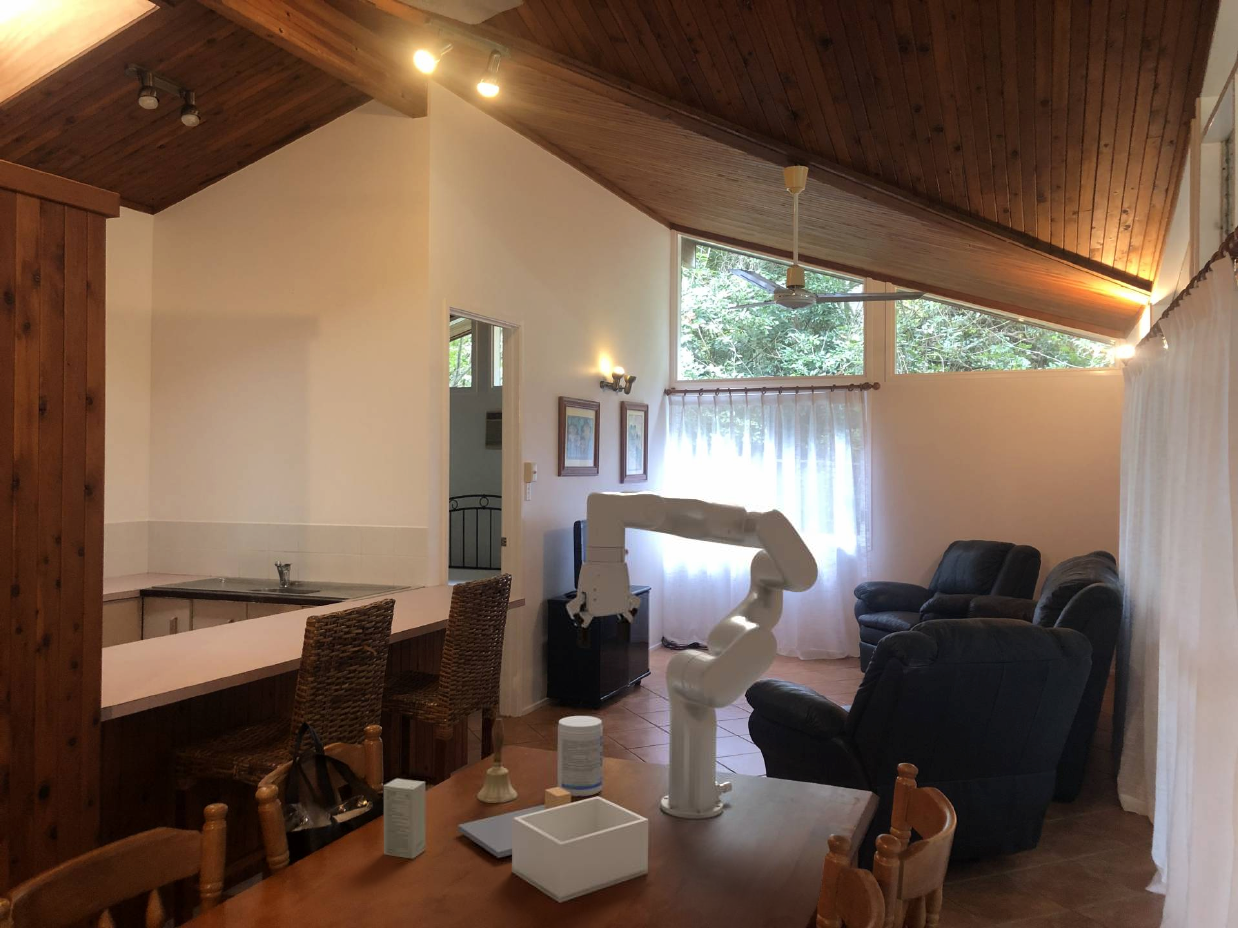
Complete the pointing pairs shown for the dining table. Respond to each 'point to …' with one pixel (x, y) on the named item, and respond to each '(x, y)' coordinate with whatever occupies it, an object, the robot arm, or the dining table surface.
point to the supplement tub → (580, 755)
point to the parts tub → (579, 847)
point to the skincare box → (404, 818)
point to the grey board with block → (508, 824)
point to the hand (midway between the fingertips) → (604, 644)
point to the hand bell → (497, 772)
